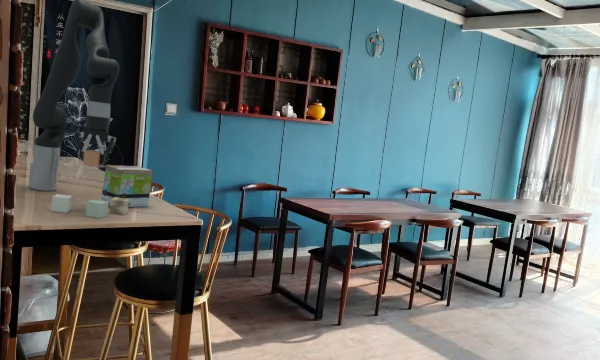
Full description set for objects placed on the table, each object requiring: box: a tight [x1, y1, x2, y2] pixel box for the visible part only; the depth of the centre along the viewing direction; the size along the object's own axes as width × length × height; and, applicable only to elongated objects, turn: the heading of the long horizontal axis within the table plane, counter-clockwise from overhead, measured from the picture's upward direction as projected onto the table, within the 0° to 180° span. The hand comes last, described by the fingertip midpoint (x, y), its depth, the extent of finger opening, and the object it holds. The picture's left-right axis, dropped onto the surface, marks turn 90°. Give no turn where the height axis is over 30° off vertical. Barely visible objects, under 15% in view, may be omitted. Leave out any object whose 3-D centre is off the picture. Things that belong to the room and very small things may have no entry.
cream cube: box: [50, 193, 73, 214], centre depth 175 cm, size 5×5×5 cm
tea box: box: [100, 164, 154, 208], centre depth 199 cm, size 15×10×15 cm, turn 148°
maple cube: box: [109, 197, 129, 216], centre depth 185 cm, size 5×5×5 cm
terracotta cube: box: [82, 149, 104, 168], centre depth 182 cm, size 5×5×5 cm
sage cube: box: [84, 199, 109, 219], centre depth 175 cm, size 5×5×5 cm
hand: (93, 163), depth 182 cm, fingers closed on terracotta cube, 5 cm apart
